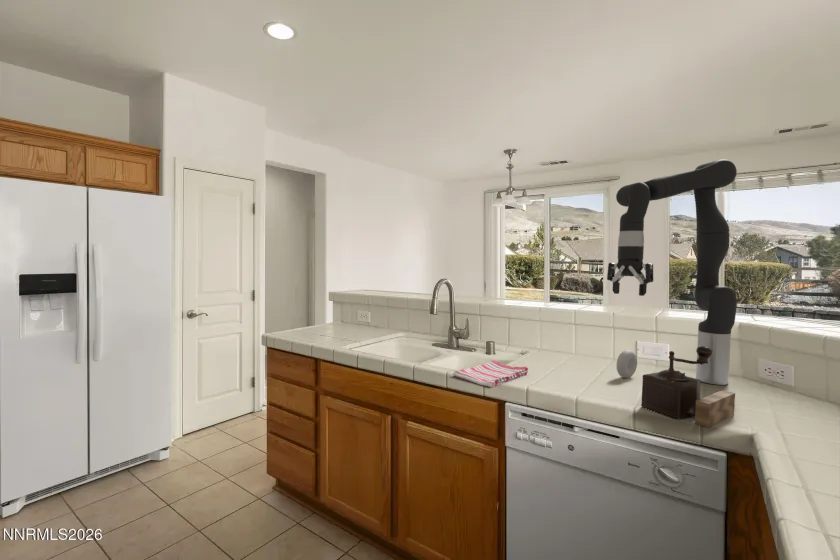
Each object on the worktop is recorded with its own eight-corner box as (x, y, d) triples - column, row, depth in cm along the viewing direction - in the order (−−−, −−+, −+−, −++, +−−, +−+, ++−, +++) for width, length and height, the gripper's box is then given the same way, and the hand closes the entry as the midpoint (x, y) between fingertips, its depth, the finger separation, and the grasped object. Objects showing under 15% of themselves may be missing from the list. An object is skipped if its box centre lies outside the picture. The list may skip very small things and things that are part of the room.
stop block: (721, 411, 114) (722, 390, 114) (734, 414, 112) (735, 393, 111) (694, 423, 105) (696, 400, 105) (708, 427, 103) (709, 404, 102)
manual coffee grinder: (679, 421, 107) (683, 352, 106) (639, 407, 117) (642, 344, 116) (713, 411, 114) (716, 347, 113) (673, 399, 124) (676, 339, 123)
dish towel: (529, 376, 148) (530, 366, 148) (491, 389, 132) (491, 379, 131) (490, 366, 160) (491, 357, 160) (451, 378, 144) (451, 368, 144)
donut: (623, 381, 141) (624, 352, 141) (613, 378, 144) (614, 350, 144) (638, 377, 147) (639, 349, 147) (629, 374, 150) (630, 347, 149)
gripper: (659, 245, 132) (656, 296, 133) (616, 246, 143) (614, 292, 144) (646, 244, 127) (644, 296, 128) (604, 245, 139) (602, 293, 140)
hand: (628, 294), depth 136 cm, fingers open, 8 cm apart
